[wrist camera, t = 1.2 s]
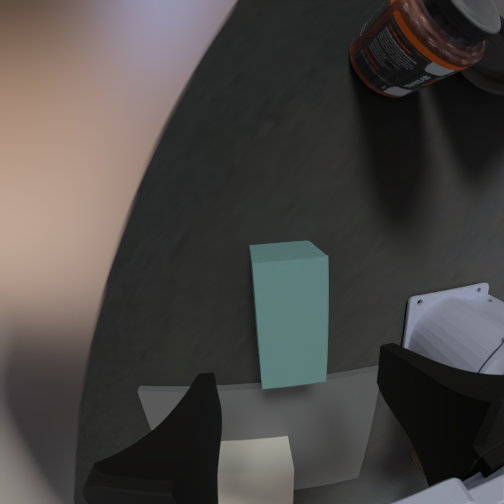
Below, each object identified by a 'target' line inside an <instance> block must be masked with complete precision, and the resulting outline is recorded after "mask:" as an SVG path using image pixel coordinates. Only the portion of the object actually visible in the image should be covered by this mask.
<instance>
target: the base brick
mask: <svg viewBox="0 0 504 504" xmlns="http://www.w3.org/2000/svg"><path fill="white" fill-rule="evenodd" d="M293 489H294V466H293V460H292V455H291V450H290V445H289V440H288V436H283V437H274V438H264V439H251V440H235V441H221V445H220V454H219V464H218V504H293Z"/></svg>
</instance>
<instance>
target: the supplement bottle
mask: <svg viewBox="0 0 504 504" xmlns="http://www.w3.org/2000/svg"><path fill="white" fill-rule="evenodd" d="M500 29H501V20H500V16H499V13H498V11H497V9H496V7H495V5H494V3H493V2H492V0H386V1H385V2H384V3H383V4H382V5H381V6H380V7H379V8H378V10H377V11H376V12H375V13H374V14H373V15H372V17H371V18H370V19H369V20H368V21H367V22H366V24H365V25H364V26H363V27H362V28H361V29H360V31H359V32H358V33H357V34H356V36H355V38H354V39H353V40H352V43H351V46H350V59H351V63H352V66H353V68H354V70H355V72H356V73H357V75H358V76H359V77H360V79H361V80H362V81H363V82H364V83H365V84H366V85H367V86H368V87H369V88H371V89H372V90H374V91H375V92H377V93H379V94H382V95H384V96H388V97H396V98H397V97H403V96H406V95H409V94H412V93H414V92H416V91H418V90H420V89H423V88H424V87H426V86H429V85H430V84H433V83H434V82H437V81H439V80H441V79H443V78H446V77H448V76H450V75H453V74H455V73H457V72H459V71H462V70H464V69H466V68H468V67H470V66H472V65H474V64H476V63H477V62H478V61H479V60H480V59H481V58H482V56H483V53H484V48H485V40H488V39H489V38H490V37H492V36H494V35H495V34H497V33H498V32H499V31H500Z"/></svg>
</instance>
